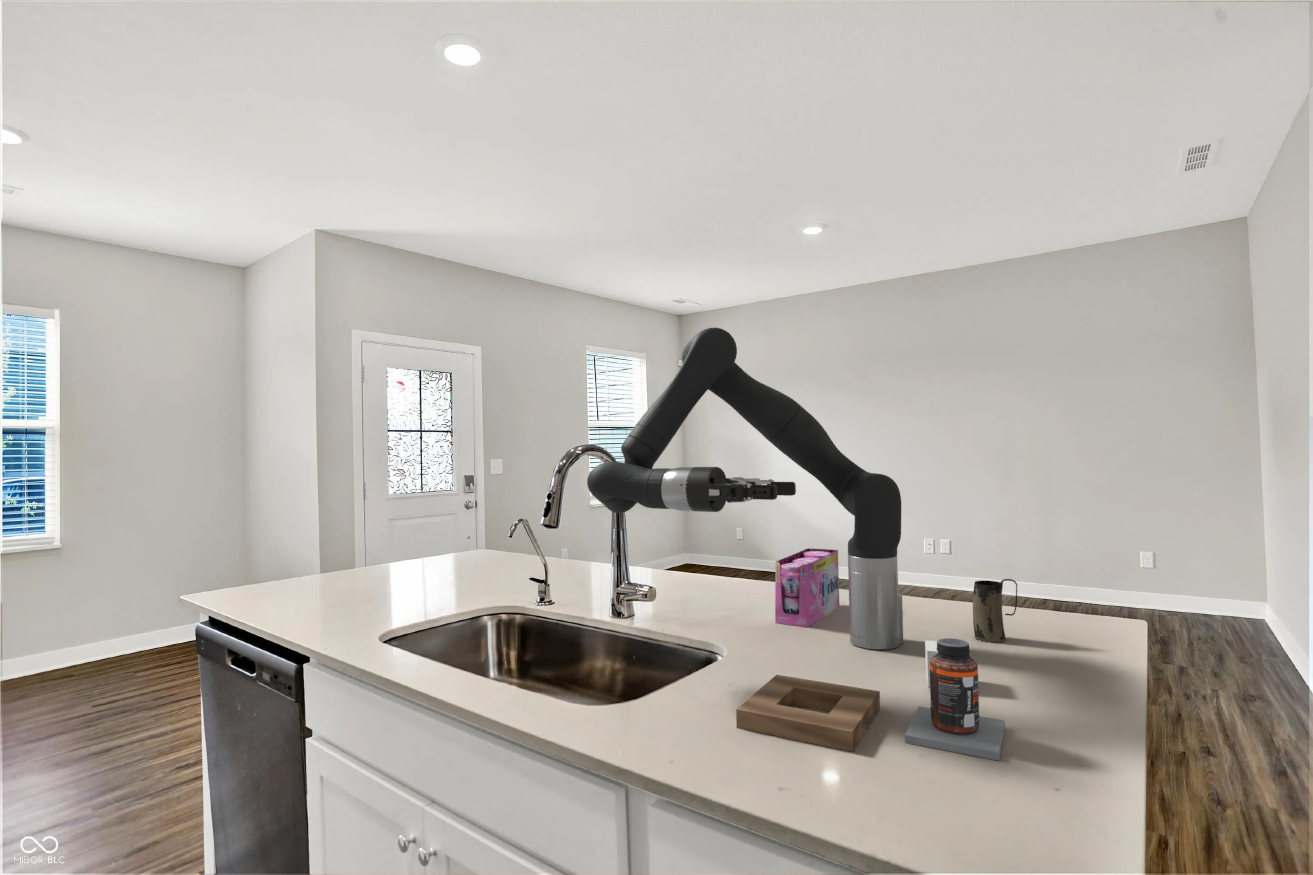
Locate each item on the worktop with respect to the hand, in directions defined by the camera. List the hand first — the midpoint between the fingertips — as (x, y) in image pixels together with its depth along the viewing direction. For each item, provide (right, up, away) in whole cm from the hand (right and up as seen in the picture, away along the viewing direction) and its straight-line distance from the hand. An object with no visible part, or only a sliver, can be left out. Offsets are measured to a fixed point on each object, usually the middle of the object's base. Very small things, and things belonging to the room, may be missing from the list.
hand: (786, 490), depth 106 cm
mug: (+46, -32, +27) cm, 62 cm away
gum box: (+15, -33, +50) cm, 61 cm away
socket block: (+2, -32, -9) cm, 33 cm away
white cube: (+27, -32, +3) cm, 42 cm away
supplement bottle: (+20, -31, -16) cm, 40 cm away
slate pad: (+20, -31, -16) cm, 40 cm away
